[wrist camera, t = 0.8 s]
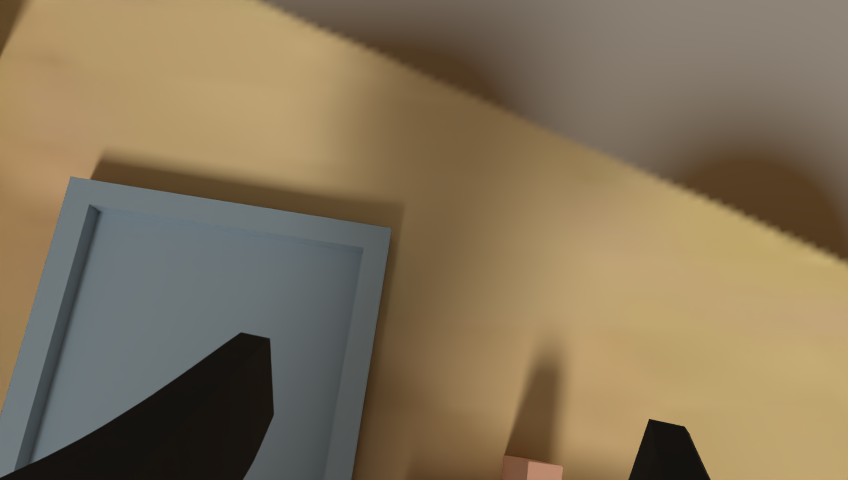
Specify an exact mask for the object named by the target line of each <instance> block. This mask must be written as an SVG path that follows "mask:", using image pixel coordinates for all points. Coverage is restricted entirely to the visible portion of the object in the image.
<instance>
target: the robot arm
mask: <svg viewBox="0 0 848 480" xmlns="http://www.w3.org/2000/svg"><path fill="white" fill-rule="evenodd" d="M273 416H274V402H273V383H272V364H271V345H270V338H266V337H262V336H257V335H252V334H247V333H243V332H241V333H239V334H238V335H236V336H235V337H233V338H232V339H230V340H229V341H227V342H226V343H225V344H223V345H222V346H220V347H219V348H218V349H216V350H215V351H213V352H212V353H211V354H209V355H208V356H207V357H205V358H204V359H202V360H201V361H200V362H198V363H197V364H195V365H194V366H193V367H191V368H190V369H188V370H187V371H186V372H184V373H183V374H181V375H180V376H178V377H177V378H176V379H174V380H173V381H171V382H170V383H168V384H167V385H165V386H164V387H162V388H161V389H160V390H158V391H157V392H155V393H154V394H152V395H151V396H149V397H148V398H146V399H145V400H143V401H142V402H140V403H139V404H137V405H135V406H134V407H132V408H131V409H129V410H127V411H126V412H124V413H123V414H121V415H119V416H118V417H116V418H115V419H113V420H111V421H110V422H108V423H107V424H105V425H103V426H102V427H100V428H98V429H96V430H95V431H93V432H91V433H90V434H88V435H86V436H84V437H82V438H81V439H79V440H77V441H75V442H73V443H71V444H69V445H67V446H65V447H63V448H62V449H60V450H58V451H56V452H54V453H52V454H50V455H48V456H46V457H44V458H42V459H40V460H38V461H36V462H33V463H31V464H29V465H27V466H25V467H22V468H20V469H18V470H16V471H14V472H11V473H9V474H7V475H5V476H3V477H0V480H243V479H244V477H245V476H246V474H247V472H248V471H249V469H250V467H251V465H252V464H253V462H254V460H255V458H256V455H257V453H258V451H259V449H260V446H261V444H262V442H263V440H264V437H265V435H266V433H267V430H268V428H269V426H270V423H271V421H272V418H273ZM629 480H710V478H709V476H708V473H707V471H706V469H705V467H704V465H703V463H702V461H701V459H700V456H699V454H698V452H697V450H696V448H695V445H694V443H693V441H692V439H691V436H690V434H689V432H688V431H687V429H686V428H685V427H684V426H679V425H675V424H670V423H665V422H660V421H656V420H651V419H649V421H648V424H647V427H646V430H645V433H644V436H643V439H642V442H641V445H640V448H639V451H638V454H637V456H636V459H635V462H634V465H633V468H632V471H631V474H630V477H629Z"/></svg>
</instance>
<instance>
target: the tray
mask: <svg viewBox="0 0 848 480" xmlns="http://www.w3.org/2000/svg"><path fill="white" fill-rule="evenodd" d="M391 230H392V228H389V227H382V226H376V225H370V224H364V223H357V222H351V221H345V220H339V219H332V218H326V217H320V216H314V215H307V214H301V213H295V212H289V211H283V210H276V209H270V208H264V207H258V206H251V205H245V204H239V203H233V202H226V201H220V200H214V199H208V198H201V197H195V196H189V195H183V194H176V193H170V192H164V191H158V190H151V189H145V188H139V187H133V186H126V185H120V184H114V183H108V182H102V181H95V180H89V179H83V178H77V177H70V181H69V184H68V187H67V191H66V194H65V198H64V201H63V204H62V208H61V211H60V215H59V218H58V222H57V225H56V228H55V232H54V235H53V239H52V242H51V245H50V249H49V252H48V256H47V259H46V262H45V266H44V269H43V273H42V276H41V280H40V283H39V286H38V290H37V293H36V297H35V300H34V303H33V307H32V310H31V314H30V317H29V321H28V324H27V327H26V331H25V334H24V338H23V341H22V344H21V348H20V351H19V355H18V358H17V362H16V365H15V368H14V372H13V375H12V379H11V382H10V385H9V389H8V392H7V396H6V399H5V402H4V406H3V409H2V413H1V416H0V477H3V476H5V475H7V474H9V473H11V472H14V471H16V470H18V469H20V468H22V467H25V466H27V465H29V464H31V463H33V462H36V461H38V460H40V459H42V458H44V457H46V456H48V455H50V454H52V453H54V452H56V451H58V450H60V449H62V448H63V447H65V446H67V445H69V444H71V443H73V442H75V441H77V440H79V439H81V438H82V437H84V436H86V435H88V434H90V433H91V432H93V431H95V430H96V429H98V428H100V427H102V426H103V425H105V424H107V423H108V422H110V421H111V420H113V419H115V418H116V417H118V416H119V415H121V414H123V413H124V412H126V411H127V410H129V409H131V408H132V407H134V406H135V405H137V404H139V403H140V402H142V401H143V400H145V399H146V398H148V397H149V396H151V395H152V394H154V393H155V392H157V391H158V390H160V389H161V388H162V387H164V386H165V385H167V384H168V383H170V382H171V381H173V380H174V379H176V378H177V377H178V376H180V375H181V374H183V373H184V372H186V371H187V370H188V369H190V368H191V367H193V366H194V365H195V364H197V363H198V362H200V361H201V360H202V359H204V358H205V357H207V356H208V355H209V354H211V353H212V352H213V351H215V350H216V349H218V348H219V347H220V346H222V345H223V344H225V343H226V342H227V341H229V340H230V339H232V338H233V337H235V336H236V335H238V334H239V333H241V332H243V333H247V334H252V335H257V336H262V337H266V338H270V345H271V364H272V383H273V402H274V416H273V418H272V421H271V423H270V426H269V428H268V430H267V433H266V435H265V437H264V440H263V442H262V444H261V446H260V449H259V451H258V453H257V455H256V458H255V460H254V462H253V464H252V465H251V467H250V469H249V471H248V472H247V474H246V476H245V477H244V479H243V480H351V479H352V473H353V467H354V461H355V455H356V448H357V442H358V436H359V430H360V424H361V417H362V411H363V405H364V399H365V393H366V386H367V380H368V374H369V368H370V362H371V355H372V349H373V343H374V337H375V331H376V324H377V318H378V312H379V306H380V299H381V293H382V287H383V281H384V275H385V268H386V262H387V256H388V250H389V244H390V237H391Z"/></svg>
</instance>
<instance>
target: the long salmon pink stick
mask: <svg viewBox="0 0 848 480" xmlns="http://www.w3.org/2000/svg"><path fill="white" fill-rule="evenodd" d="M562 471H563V466H560V465H555V464H551V463H547V462H542V461H538V460H534V459H527V458H520V457H514V456H507V455H504V460H503V469H502V478H501V480H562Z"/></svg>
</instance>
